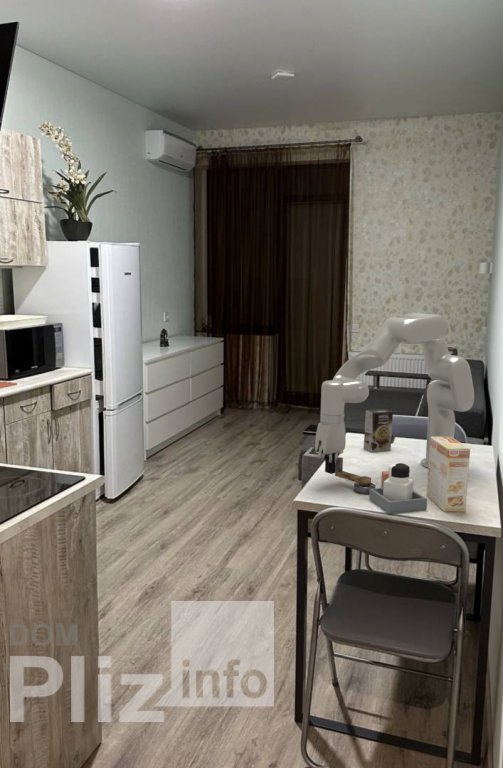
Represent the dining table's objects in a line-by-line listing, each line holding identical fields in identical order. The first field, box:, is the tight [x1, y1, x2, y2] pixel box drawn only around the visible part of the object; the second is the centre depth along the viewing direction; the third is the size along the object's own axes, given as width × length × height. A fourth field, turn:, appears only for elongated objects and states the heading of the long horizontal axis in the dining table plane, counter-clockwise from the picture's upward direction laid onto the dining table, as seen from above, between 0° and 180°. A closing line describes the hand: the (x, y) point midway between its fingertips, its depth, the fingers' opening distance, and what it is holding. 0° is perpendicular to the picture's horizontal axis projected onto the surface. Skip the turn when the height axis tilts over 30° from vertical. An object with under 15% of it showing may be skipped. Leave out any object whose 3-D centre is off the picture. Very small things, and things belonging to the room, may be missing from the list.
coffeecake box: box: [426, 437, 471, 513], centre depth 198 cm, size 15×7×20 cm, turn 5°
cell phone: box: [391, 434, 396, 445], centre depth 277 cm, size 7×14×1 cm, turn 163°
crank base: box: [353, 482, 377, 496], centre depth 209 cm, size 7×7×2 cm
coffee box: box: [363, 408, 394, 453], centre depth 258 cm, size 9×6×16 cm
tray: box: [368, 487, 428, 515], centre depth 197 cm, size 13×13×4 cm
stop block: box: [380, 470, 389, 488], centre depth 207 cm, size 3×3×7 cm
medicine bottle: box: [383, 462, 414, 501], centre depth 197 cm, size 7×7×12 cm
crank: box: [334, 456, 372, 486], centre depth 212 cm, size 14×4×6 cm, turn 42°
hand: (330, 472), depth 214 cm, fingers closed
